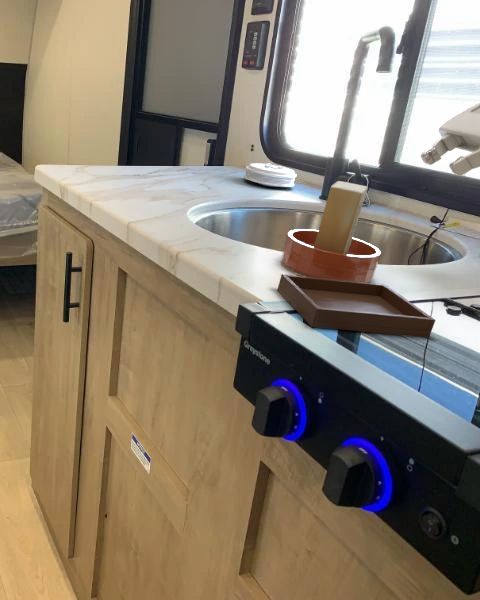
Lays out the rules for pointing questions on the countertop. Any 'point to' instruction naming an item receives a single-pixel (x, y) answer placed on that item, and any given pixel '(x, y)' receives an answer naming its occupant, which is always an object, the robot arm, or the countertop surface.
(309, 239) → the bowl
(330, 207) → the cosmetic box
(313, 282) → the tray
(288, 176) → the lid
